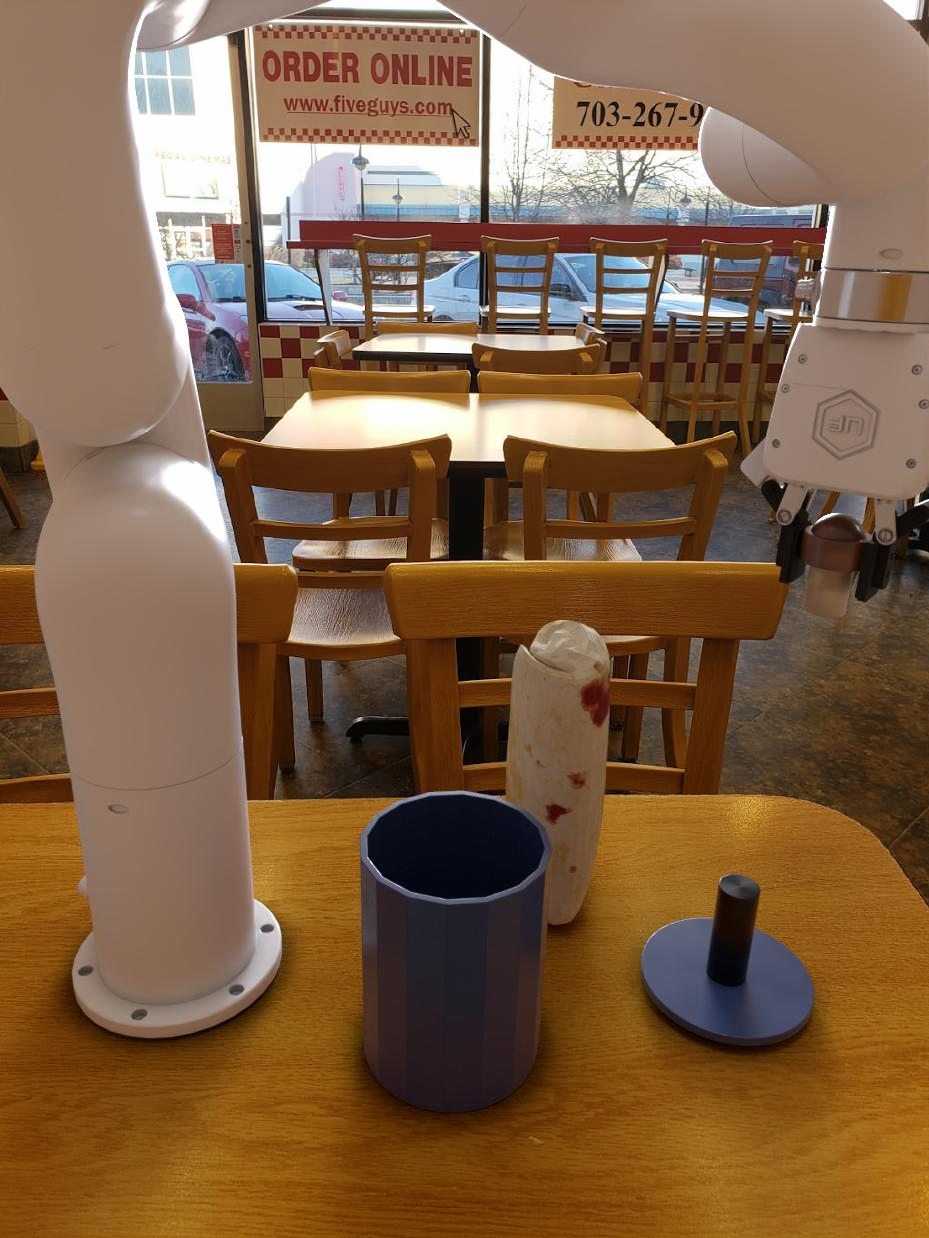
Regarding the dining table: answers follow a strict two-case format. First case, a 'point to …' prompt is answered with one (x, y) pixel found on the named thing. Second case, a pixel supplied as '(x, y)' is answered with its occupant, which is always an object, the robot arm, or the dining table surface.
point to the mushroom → (831, 562)
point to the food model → (561, 751)
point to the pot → (453, 947)
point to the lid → (728, 973)
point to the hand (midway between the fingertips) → (828, 584)
